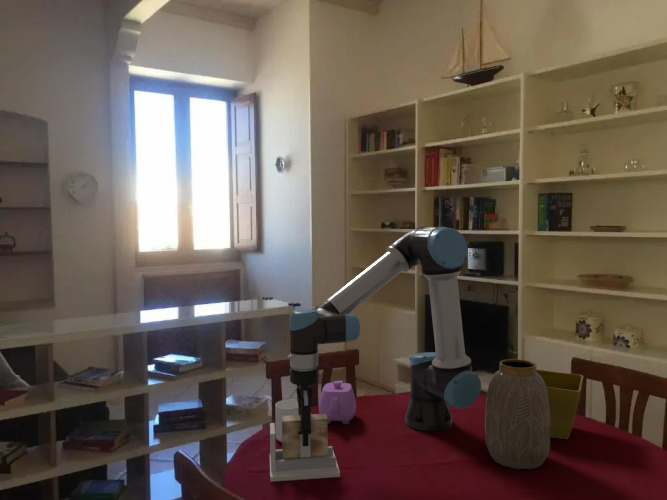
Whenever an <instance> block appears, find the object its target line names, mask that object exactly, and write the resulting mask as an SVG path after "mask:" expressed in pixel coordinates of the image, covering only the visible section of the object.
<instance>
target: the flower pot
mask: <svg viewBox="0 0 667 500" xmlns="http://www.w3.org/2000/svg"><path fill="white" fill-rule="evenodd" d="M536 372H537V373H538V374H539V375H540V376H541V377H542V379H543V380H544V382H545V384H546V387H547V390H548V396H549V403H550V418H551V437H552V438H551V439H553V438H561V439H568V440H569V437H570V435H571V432H572V429H573V426H574V423H575V419H576V415H577V411H578V407H579V402H580V399H581V393H582V388H583V383H584V375H583V374H576V373H568V372H560V371H559V372H558V371H552V370H544V369H536Z"/></svg>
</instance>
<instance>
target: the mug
mask: <svg viewBox="0 0 667 500" xmlns="http://www.w3.org/2000/svg"><path fill="white" fill-rule="evenodd" d="M274 407H275V408H274V409H275V410H274V411H275V412H274V413H275V416H274V417H275V439H276V440H277V441H278V442H280V443H282V416H293V415H298V402H297V399H293V398H292V399H282V400H279V401H277V402H276V403H275V406H274Z"/></svg>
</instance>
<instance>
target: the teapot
mask: <svg viewBox="0 0 667 500" xmlns="http://www.w3.org/2000/svg"><path fill="white" fill-rule="evenodd" d="M356 411H357V403H356V397H355V394H354V390H353V386H352V384H351V383H348V382H344V381H343V380H335V381H333V382H327V383H325V384H324V385H323V387H322V390H321V394H320V396H319V401H318V414H326V416H327V425H328V424H331V423H332V422H341V424H343V425H349V424H350V423H351V422H350V421H351V420H352V419H353V418H354V416H355V414H356Z"/></svg>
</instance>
